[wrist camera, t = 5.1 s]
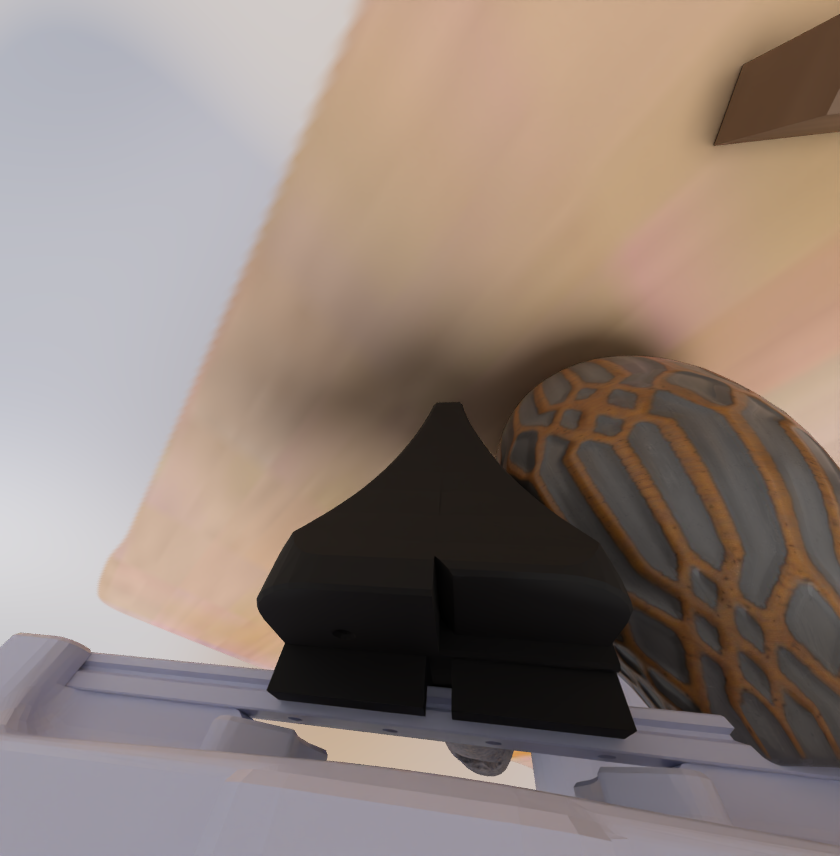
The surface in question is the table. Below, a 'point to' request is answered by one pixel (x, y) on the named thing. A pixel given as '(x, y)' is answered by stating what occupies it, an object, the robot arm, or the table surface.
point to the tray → (788, 90)
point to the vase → (701, 540)
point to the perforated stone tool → (482, 758)
